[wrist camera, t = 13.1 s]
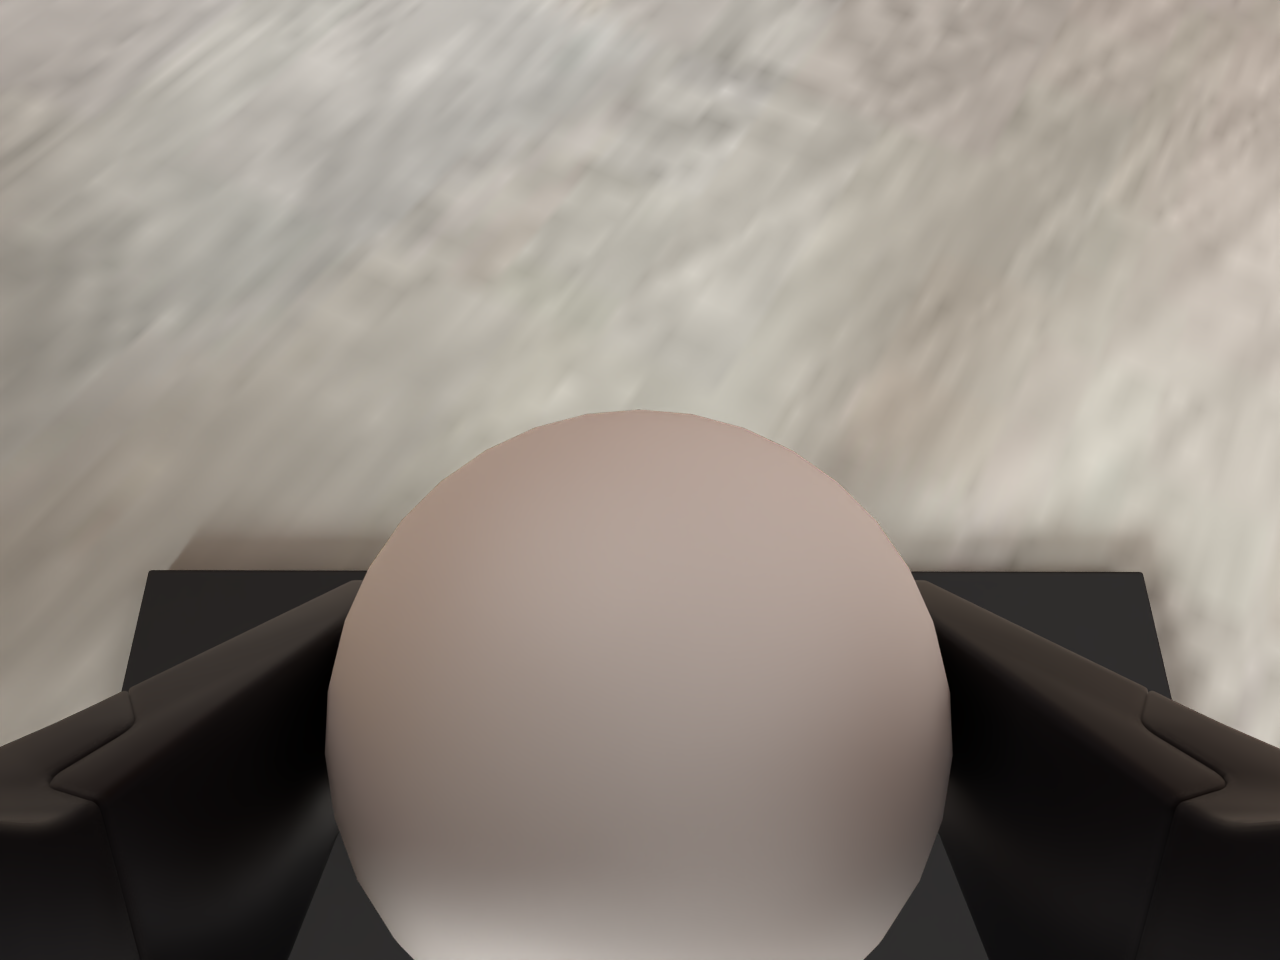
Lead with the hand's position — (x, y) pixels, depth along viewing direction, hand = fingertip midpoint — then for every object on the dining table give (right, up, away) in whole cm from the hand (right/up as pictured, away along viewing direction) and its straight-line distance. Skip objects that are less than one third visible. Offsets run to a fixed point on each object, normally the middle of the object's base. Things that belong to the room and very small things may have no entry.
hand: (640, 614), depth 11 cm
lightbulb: (0, -4, +6) cm, 7 cm away
